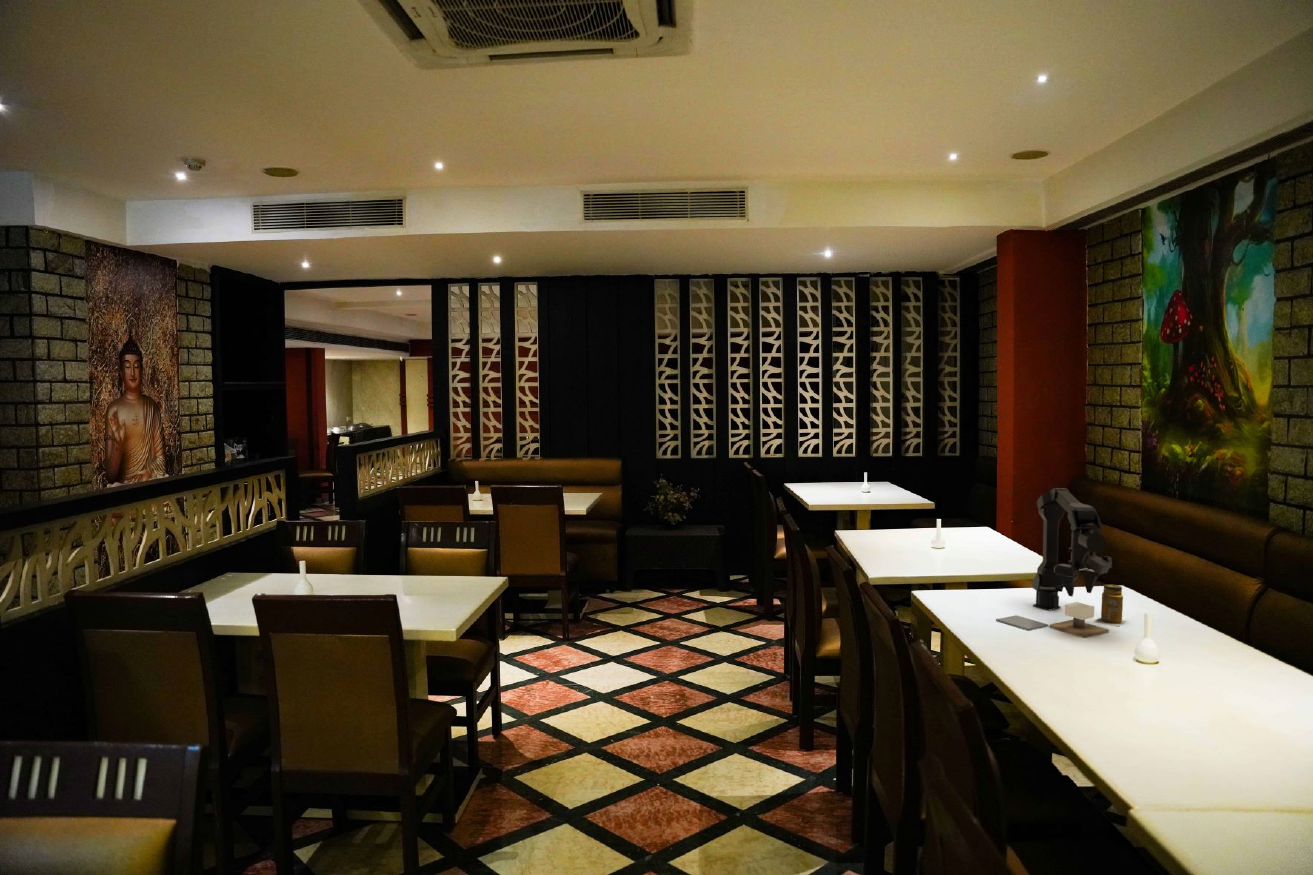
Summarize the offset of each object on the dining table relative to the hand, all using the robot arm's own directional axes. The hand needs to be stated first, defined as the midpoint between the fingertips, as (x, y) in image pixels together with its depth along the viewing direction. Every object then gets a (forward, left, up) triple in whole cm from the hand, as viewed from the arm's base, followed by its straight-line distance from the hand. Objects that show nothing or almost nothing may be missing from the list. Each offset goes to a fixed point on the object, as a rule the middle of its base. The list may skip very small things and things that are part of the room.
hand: (1079, 594), depth 250 cm
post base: (0, 0, -11) cm, 11 cm away
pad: (-13, -10, -12) cm, 20 cm away
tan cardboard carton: (0, 0, -7) cm, 7 cm away
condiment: (-1, +18, -12) cm, 21 cm away
